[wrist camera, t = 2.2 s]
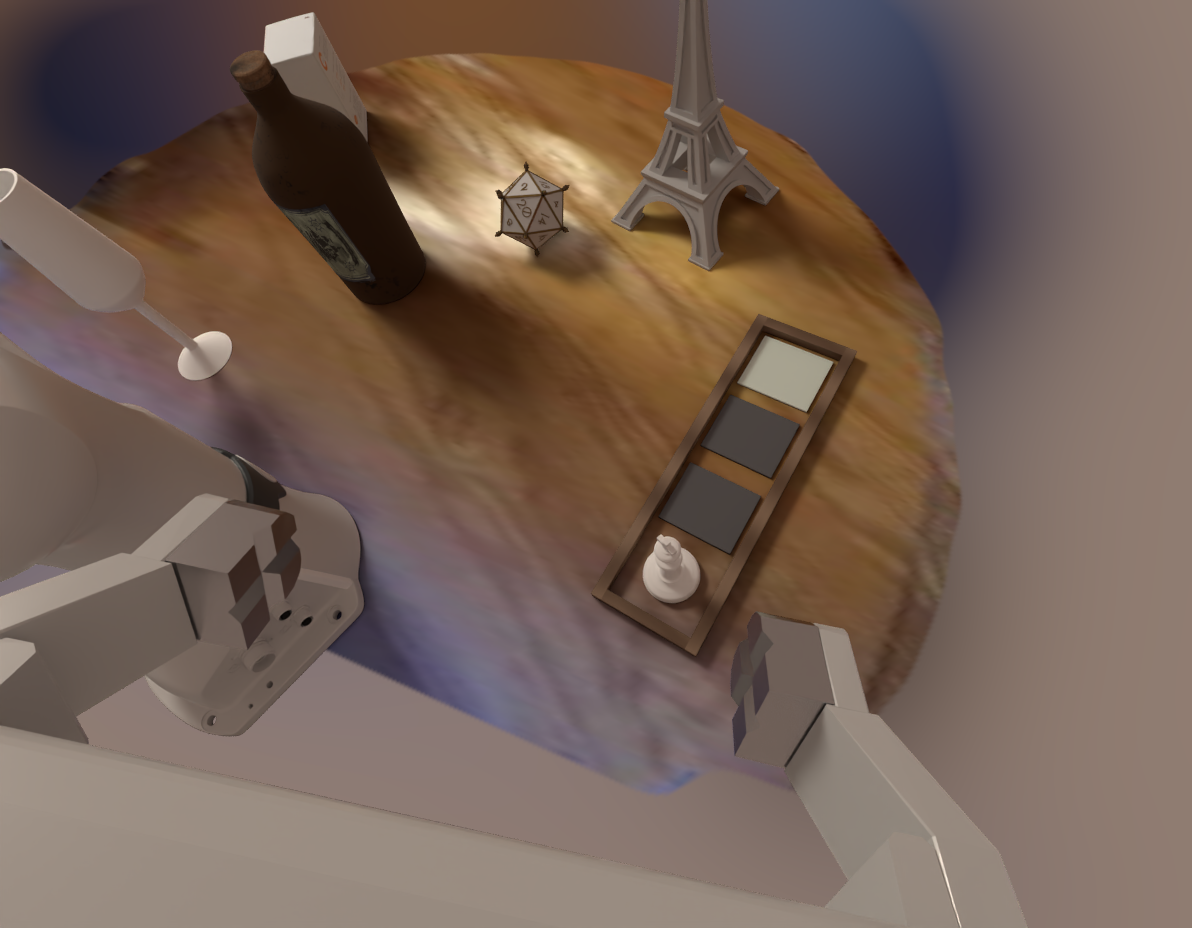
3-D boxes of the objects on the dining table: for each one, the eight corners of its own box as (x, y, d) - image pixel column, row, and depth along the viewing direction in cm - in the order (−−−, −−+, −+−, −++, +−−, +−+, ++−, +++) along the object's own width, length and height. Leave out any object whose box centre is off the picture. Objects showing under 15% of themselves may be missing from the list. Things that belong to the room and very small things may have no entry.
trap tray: (695, 657, 50) (695, 655, 49) (592, 595, 54) (590, 593, 53) (854, 357, 59) (857, 351, 58) (757, 319, 62) (758, 313, 61)
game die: (562, 259, 74) (594, 227, 65) (497, 271, 71) (519, 239, 62) (541, 186, 73) (570, 144, 64) (474, 195, 70) (494, 152, 61)
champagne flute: (243, 343, 71) (44, 172, 50) (204, 389, 69) (-21, 231, 48) (205, 323, 73) (-1, 151, 52) (166, 367, 72) (-65, 207, 50)
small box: (324, 122, 85) (264, 24, 74) (367, 110, 85) (314, 10, 73) (323, 162, 82) (260, 66, 70) (368, 150, 82) (313, 51, 70)
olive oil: (375, 229, 76) (237, 13, 53) (447, 248, 72) (334, 28, 50) (328, 296, 72) (160, 96, 50) (401, 319, 69) (258, 118, 47)
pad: (806, 412, 57) (806, 411, 57) (737, 383, 60) (737, 382, 60) (833, 363, 59) (833, 361, 59) (764, 336, 61) (765, 335, 61)
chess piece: (673, 535, 55) (668, 496, 46) (712, 576, 53) (715, 544, 44) (631, 572, 54) (618, 539, 45) (669, 615, 52) (663, 590, 43)
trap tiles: (729, 554, 53) (729, 553, 53) (658, 517, 56) (658, 516, 55) (799, 425, 57) (799, 424, 57) (730, 395, 59) (730, 394, 59)
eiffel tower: (611, 222, 71) (558, -98, 43) (681, 148, 74) (672, -195, 46) (708, 272, 66) (717, -53, 39) (778, 190, 69) (832, -164, 42)
